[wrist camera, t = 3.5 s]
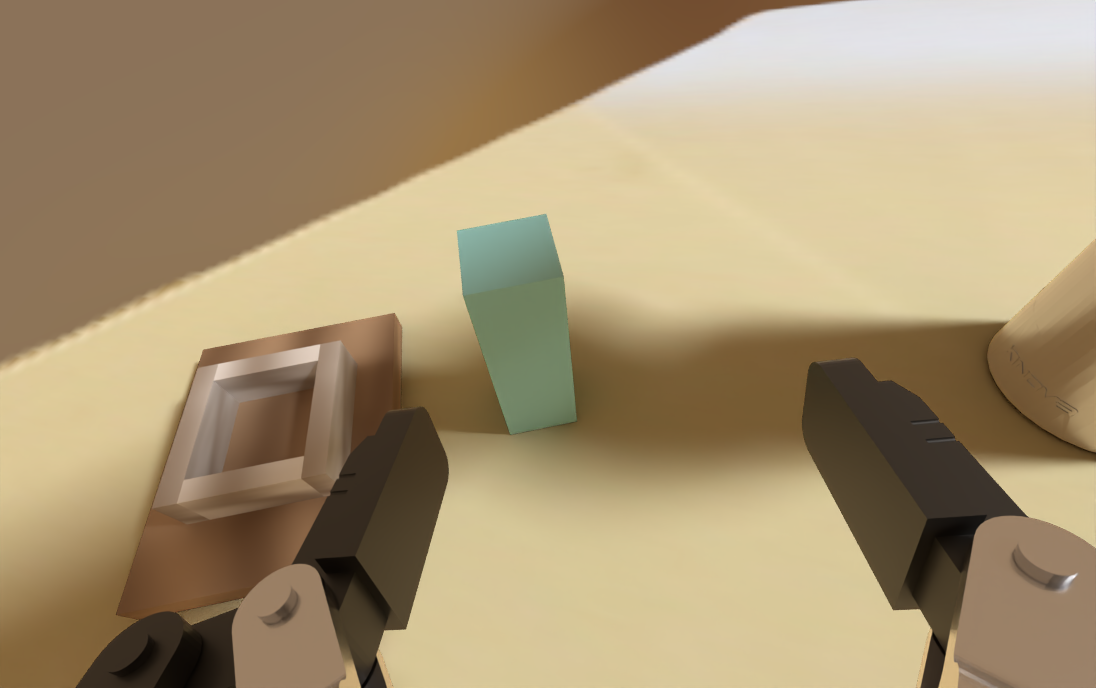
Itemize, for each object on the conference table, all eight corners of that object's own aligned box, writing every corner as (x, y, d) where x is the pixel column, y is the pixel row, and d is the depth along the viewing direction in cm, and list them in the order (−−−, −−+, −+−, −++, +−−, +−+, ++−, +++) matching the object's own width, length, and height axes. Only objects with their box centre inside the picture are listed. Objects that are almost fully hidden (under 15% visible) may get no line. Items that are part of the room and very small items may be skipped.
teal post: (563, 366, 31) (546, 213, 21) (577, 421, 29) (563, 276, 19) (502, 378, 31) (457, 230, 21) (510, 434, 28) (463, 295, 19)
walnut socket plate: (401, 326, 34) (381, 287, 31) (398, 565, 25) (368, 544, 21) (217, 362, 34) (177, 326, 31) (140, 619, 24) (69, 606, 21)
